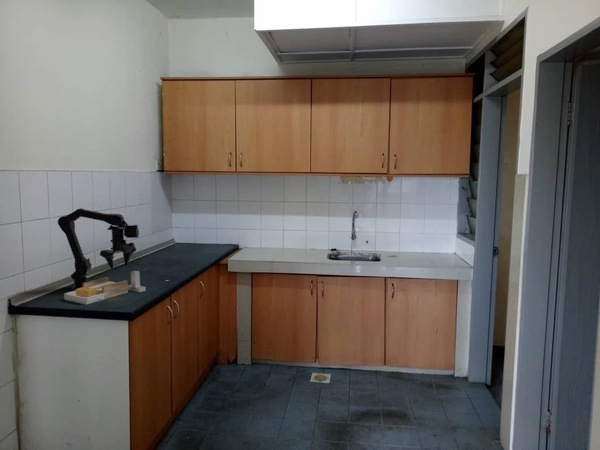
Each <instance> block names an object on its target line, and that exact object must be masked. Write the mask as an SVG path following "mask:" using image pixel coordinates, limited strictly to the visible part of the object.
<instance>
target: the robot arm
mask: <svg viewBox="0 0 600 450" xmlns="http://www.w3.org/2000/svg"><path fill="white" fill-rule="evenodd" d="M81 217H82V218H87V219H91V220H97V221H102V222H105V223H106V224H108V225H109V226H108V228H107V230H108V231H111V239H110V242H111V244H112V247H110V249H102V250H100V252H99V256H101V257H102V258H104V260H105V261H106V262H107V264H108V266H109V268H110V269H114V258H115V256H114V254H119V253H122V254H123V255H122V256H123V261H124V264H125V266H128V264H129V261H130V258H131V256H132V255H133V254H134V253H135V252H137V248H136V246H135V243H134V242H133V241H132V242H128V243H127V240H126V239H125V238H127V239H132V238H133V239H134V238H135V239H137V238H139V235H140V230H139V226H138V225H137V224H132V225H131V224H130V225H129V224H128V223H127V221H125V216H123V215H122V214H120V213H104V212H99V211H95V210H91V209H90V210H89V209H85V208H81V207H80V208H78V209H75V210H74V211H72V212H71V213H69V214H66V215H63V216H60V217H59V218H58V220H57V224H58V226H59V228H60V229H61V231H62V232H63V233H64V234H65V237H66V239H67V242H68V245H69V247H70V250H71V253H72V256H73V258H74V270H75V271H73V273H71V275H70V277H71V279H72V280H73V287H71V288H70V289H71V290H74V291H76V289H78V288H82V287H83V283H84V282H88V280H87V277H86V276H87V275H88V274H89V272H91V270H92V266H93V264H92V263H91V259H90V258H89V257H88V258H86V257H85V256H84V253H83V249H82V247H81V244H80V242H79V239H78V235H77V234H76V230H75V229H76V224H75V223H76V222H75V221H77V220H78V219H79V218H81Z"/></svg>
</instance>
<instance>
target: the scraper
mask: <svg viewBox="0 0 600 450" xmlns="http://www.w3.org/2000/svg"><path fill="white" fill-rule="evenodd" d="M140 276H141V275H140V271H139V270H133V271H130V283H131V284H128V291H131V292H136V293H141V292H145V291H146V290H147V289H146V286H143V285H141V277H140Z"/></svg>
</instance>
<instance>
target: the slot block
mask: <svg viewBox="0 0 600 450" xmlns="http://www.w3.org/2000/svg"><path fill="white" fill-rule="evenodd" d="M128 282H129V281H128V280H125V279H124V280H122V281H118V282H116V281H110V279H109V277H107V276H105V277H101V278H97V279H93V280H87V282H84V283H83V287H84V288H89V289H95V290H96V295H98V294H101V293H104V299H103V300H107V299H110V298H113V297H117V296H120V295H123V294H127V293H129V290H128V285H129V283H128Z"/></svg>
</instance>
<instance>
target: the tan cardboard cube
mask: <svg viewBox="0 0 600 450" xmlns="http://www.w3.org/2000/svg"><path fill="white" fill-rule="evenodd" d="M94 295H96V290H95V289H87V290H83V297H85V298H87V297H91V296H94Z"/></svg>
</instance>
